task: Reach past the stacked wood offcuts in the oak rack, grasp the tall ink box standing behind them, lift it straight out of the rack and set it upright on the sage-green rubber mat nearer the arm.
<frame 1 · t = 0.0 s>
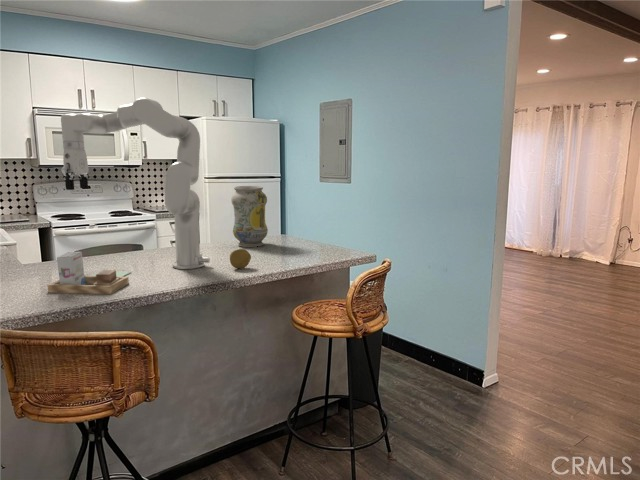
hand: (77, 188, 189), 31 cm above the countertop, fingers open, 9 cm apart
rack: (89, 287, 158), on the countertop
vase: (250, 245, 238), on the countertop
offcut top: (106, 280, 157), point 3 cm above the countertop, touching offcut low
potato: (239, 269, 188), on the countertop
mat: (107, 276, 173), on the countertop
ink box: (73, 288, 159), resting in rack
offcut low: (107, 289, 158), resting in rack, touching offcut top
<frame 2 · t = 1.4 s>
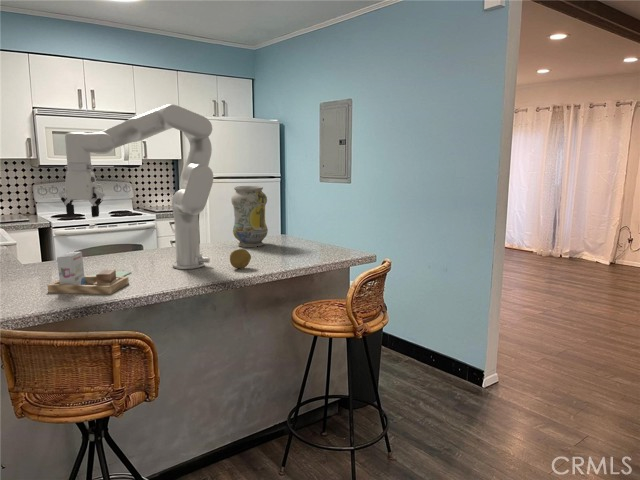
hand: (83, 216, 167), 23 cm above the countertop, fingers open, 9 cm apart
offcut top: (106, 280, 158), point 3 cm above the countertop
offcut low: (107, 289, 158), resting in rack
everything else where it was.
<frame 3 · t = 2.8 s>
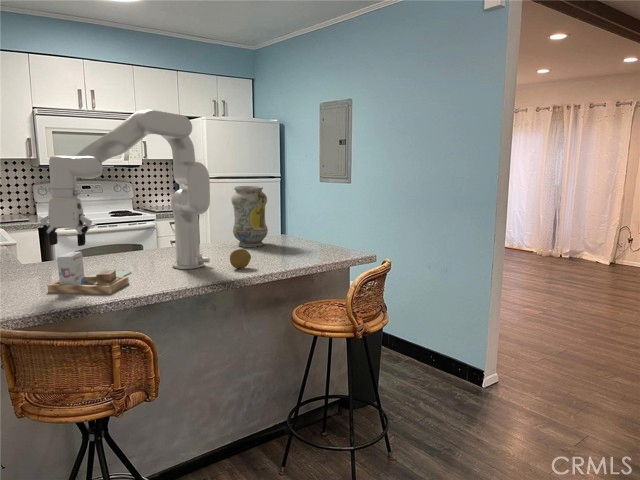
hand: (67, 244, 156), 15 cm above the countertop, fingers open, 9 cm apart
offcut top: (106, 280, 157), point 3 cm above the countertop, touching offcut low
offcut low: (107, 289, 158), resting in rack, touching offcut top
everything else where it was.
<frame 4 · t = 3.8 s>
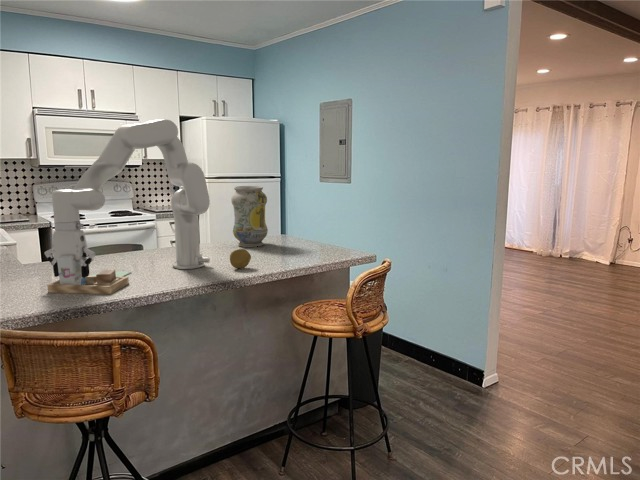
hand: (71, 276, 158), 4 cm above the countertop, fingers open, 9 cm apart
offcut top: (106, 280, 158), point 3 cm above the countertop
offcut low: (107, 289, 158), resting in rack
everything else where it was.
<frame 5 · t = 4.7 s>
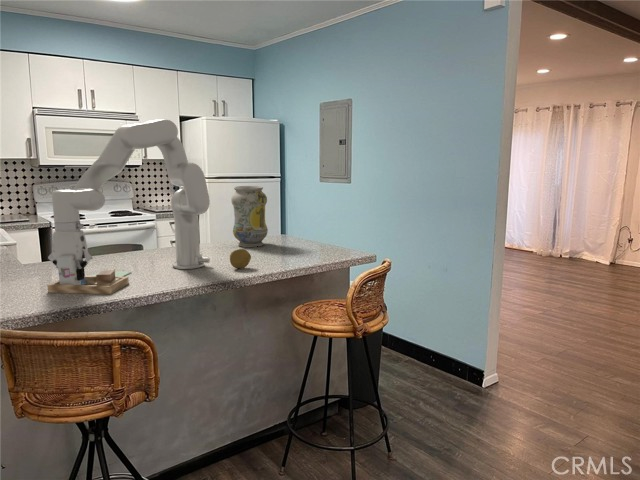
hand: (72, 278, 158), 3 cm above the countertop, fingers closed on ink box, 5 cm apart
ink box: (72, 288, 159), resting in rack, touching gripper
everything else where it was.
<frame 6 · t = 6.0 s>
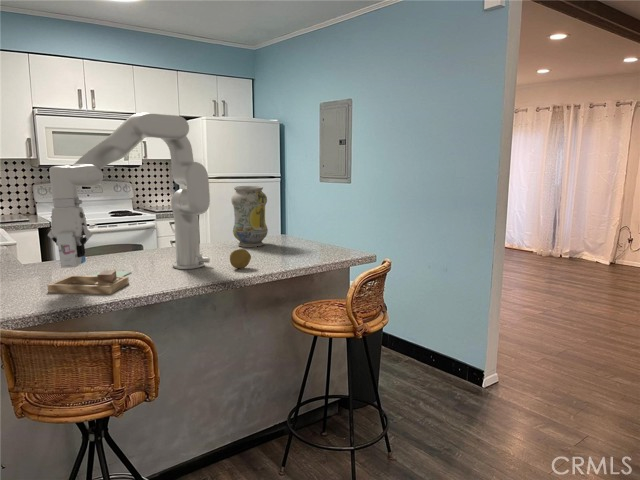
hand: (72, 255, 157), 11 cm above the countertop, fingers closed on ink box, 5 cm apart
offcut top: (107, 281, 157), point 3 cm above the countertop, touching offcut low
ink box: (73, 265, 158), point 8 cm above the countertop, touching gripper
offcut low: (108, 289, 158), resting in rack, touching offcut top
everything else where it was.
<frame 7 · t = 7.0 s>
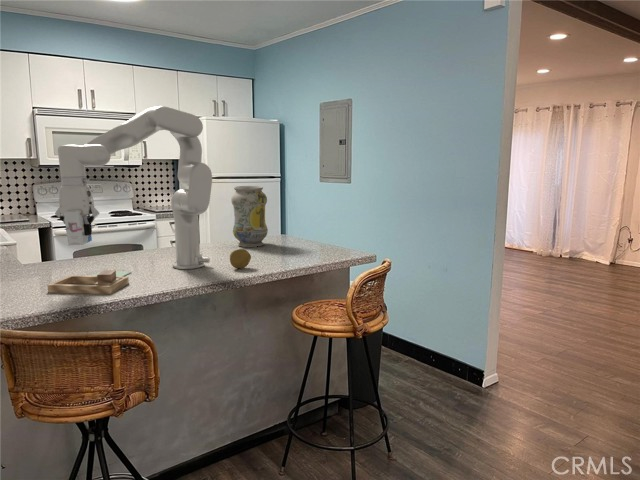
hand: (79, 234, 160), 18 cm above the countertop, fingers closed on ink box, 5 cm apart
ink box: (80, 243, 160), point 14 cm above the countertop, touching gripper
everything else where it was.
when the fingers open (4 cm above the countertop, at t = 11.1 s): ink box stays where it is, resting on mat.
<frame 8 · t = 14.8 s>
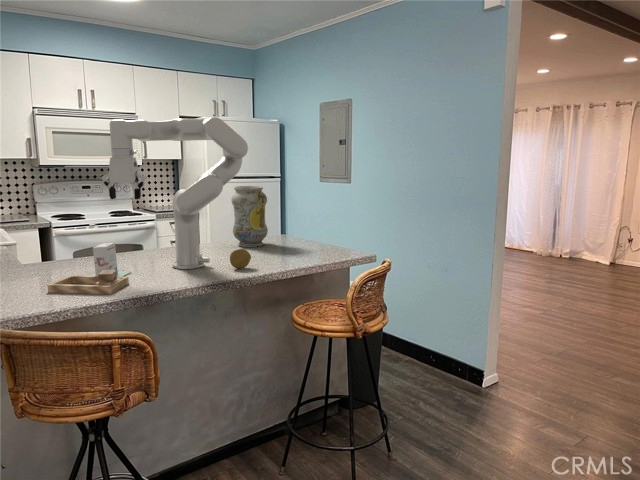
hand: (125, 198, 178), 28 cm above the countertop, fingers open, 9 cm apart
ink box: (106, 276, 173), resting on mat
everything else where it was.
at the end: ink box inside the target area (0.1 cm from its centre), resting on mat; ink box tilted 0°; the gripper is holding nothing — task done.
